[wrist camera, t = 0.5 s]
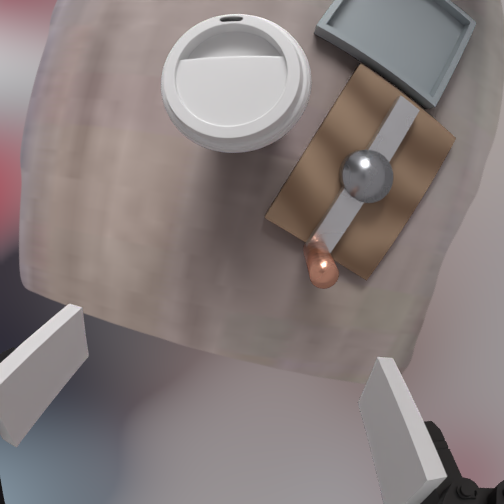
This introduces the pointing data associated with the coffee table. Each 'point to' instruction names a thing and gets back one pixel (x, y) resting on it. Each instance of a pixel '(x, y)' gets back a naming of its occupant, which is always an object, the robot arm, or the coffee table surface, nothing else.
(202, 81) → the coffee cup
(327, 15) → the tray
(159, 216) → the coffee table surface
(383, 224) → the crank base
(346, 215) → the crank
